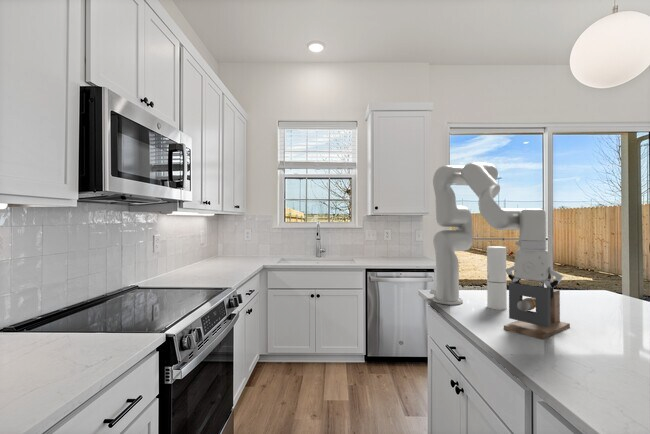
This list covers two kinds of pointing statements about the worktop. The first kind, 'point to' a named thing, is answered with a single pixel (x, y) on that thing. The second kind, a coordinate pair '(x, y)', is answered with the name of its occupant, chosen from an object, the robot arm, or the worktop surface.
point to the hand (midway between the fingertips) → (532, 297)
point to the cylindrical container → (496, 278)
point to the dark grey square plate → (542, 304)
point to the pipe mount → (538, 330)
